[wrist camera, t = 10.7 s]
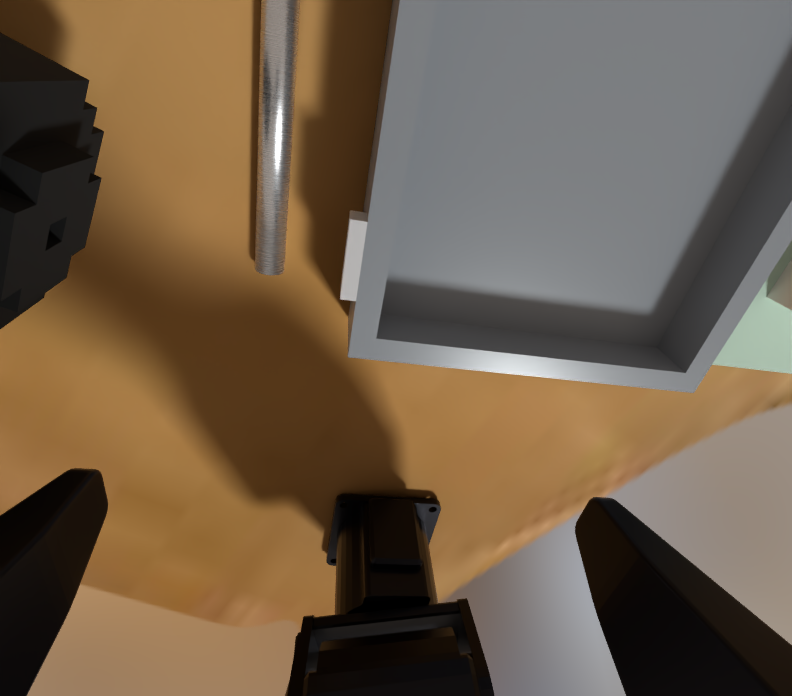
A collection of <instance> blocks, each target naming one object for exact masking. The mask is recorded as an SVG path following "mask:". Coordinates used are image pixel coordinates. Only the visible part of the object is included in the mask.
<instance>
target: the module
mask: <svg viewBox="0 0 792 696" xmlns="http://www.w3.org/2000/svg"><path fill="white" fill-rule="evenodd" d="M767 298H769V299H771V300H773V301H775V302H777V303H779V304H781V305H782V306H784V307H786V308H788V309H790V310H792V259H791V260H790V262H789V263H788V265H787V267H786V268H785V270H784V271H783V273H782V274H781V276H780V277H779V279H778V280H777V282H776V283H775V285H774V286H773V288H772V289H771V291H770V292H769V294H768V295H767Z"/></svg>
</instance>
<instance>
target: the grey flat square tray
mask: <svg viewBox="0 0 792 696" xmlns="http://www.w3.org/2000/svg"><path fill="white" fill-rule="evenodd" d="M791 241H792V0H392V7H391V14H390V22H389V29H388V36H387V43H386V50H385V58H384V65H383V72H382V79H381V86H380V93H379V101H378V108H377V115H376V122H375V129H374V137H373V144H372V151H371V158H370V165H369V173H368V180H367V187H366V194H365V201H364V208H363V212H359V211H352V210H350V215H349V223H348V231H347V239H346V247H345V255H344V263H343V271H342V279H341V288H340V299H342V300H350V301H351V302H350V309H349V316H348V357H351V358H361V359H370V360H380V361H390V362H399V363H409V364H419V365H428V366H438V367H448V368H457V369H467V370H477V371H487V372H496V373H506V374H516V375H525V376H535V377H545V378H554V379H564V380H574V381H583V382H593V383H603V384H612V385H622V386H632V387H641V388H651V389H661V390H671V391H680V392H690V393H694V392H695V390H696V389H697V387H698V385H699V384H700V382H701V381H702V379H703V378H704V376H705V375H706V373H707V371H708V370H709V368H710V367H711V365H712V364H713V362H714V361H715V359H716V357H717V356H718V354H719V353H720V351H721V350H722V348H723V347H724V345H725V343H726V342H727V340H728V339H729V337H730V336H731V334H732V333H733V331H734V329H735V328H736V326H737V325H738V323H739V322H740V320H741V319H742V317H743V316H744V314H745V312H746V311H747V309H748V308H749V306H750V305H751V303H752V302H753V300H754V298H755V297H756V295H757V294H758V292H759V291H760V289H761V288H762V286H763V284H764V283H765V281H766V280H767V278H768V277H769V275H770V274H771V272H772V270H773V269H774V267H775V266H776V264H777V263H778V261H779V260H780V258H781V256H782V255H783V253H784V252H785V250H786V249H787V247H788V246H789V244H790V242H791Z"/></svg>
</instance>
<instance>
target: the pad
mask: <svg viewBox="0 0 792 696" xmlns="http://www.w3.org/2000/svg"><path fill="white" fill-rule="evenodd" d="M791 259H792V241H791V242H790V244H789V246H788V247H787V249H786V250H785V252H784V253H783V255H782V256H781V258H780V260H779V261H778V263H777V264H776V266H775V267H774V269H773V270H772V272H771V274H770V275H769V277H768V278H767V280H766V281H765V283H764V284H763V286H762V288H761V289H760V291H759V292H758V294H757V295H756V297H755V298H754V300H753V302H752V303H751V305H750V306H749V308H748V309H747V311H746V312H745V314H744V316H743V317H742V319H741V320H740V322H739V323H738V325H737V326H736V328H735V329H734V331H733V333H732V334H731V336H730V337H729V339H728V340H727V342H726V343H725V345H724V347H723V348H722V350H721V351H720V353H719V354H718V356H717V357H716V359H715V361H714V362H713V365H722V366H730V367H739V368H747V369H756V370H765V371H773V372H782V373H790V374H792V310H790V309H788V308H786V307H784V306H782V305H781V304H779V303H777V302H775V301H773V300H771V299H769V298H767V295H768V294H769V292H770V291H771V289H772V288H773V286H774V285H775V283H776V282H777V280H778V279H779V277H780V276H781V274H782V273H783V271H784V270H785V268H786V267H787V265H788V263H789V262H790V260H791Z"/></svg>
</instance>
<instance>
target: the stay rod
mask: <svg viewBox="0 0 792 696" xmlns="http://www.w3.org/2000/svg"><path fill="white" fill-rule="evenodd" d="M299 11H300V0H261V31H260V74H259V117H258V160H257V203H256V245H255V270H256V271H257V272H259V273H261V274H265V275H279V274H282V273H283V272H284V266H285V249H286V232H287V215H288V198H289V181H290V164H291V147H292V130H293V113H294V96H295V79H296V62H297V45H298V28H299Z"/></svg>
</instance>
